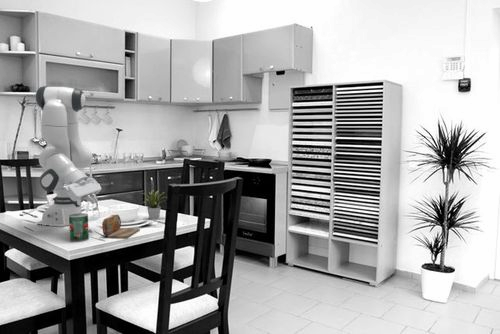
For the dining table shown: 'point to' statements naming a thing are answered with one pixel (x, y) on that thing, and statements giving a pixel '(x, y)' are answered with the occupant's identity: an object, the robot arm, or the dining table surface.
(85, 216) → the canned tomato
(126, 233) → the walnut board
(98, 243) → the dining table surface
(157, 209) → the house plant
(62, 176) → the robot arm
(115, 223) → the brown rounded block
